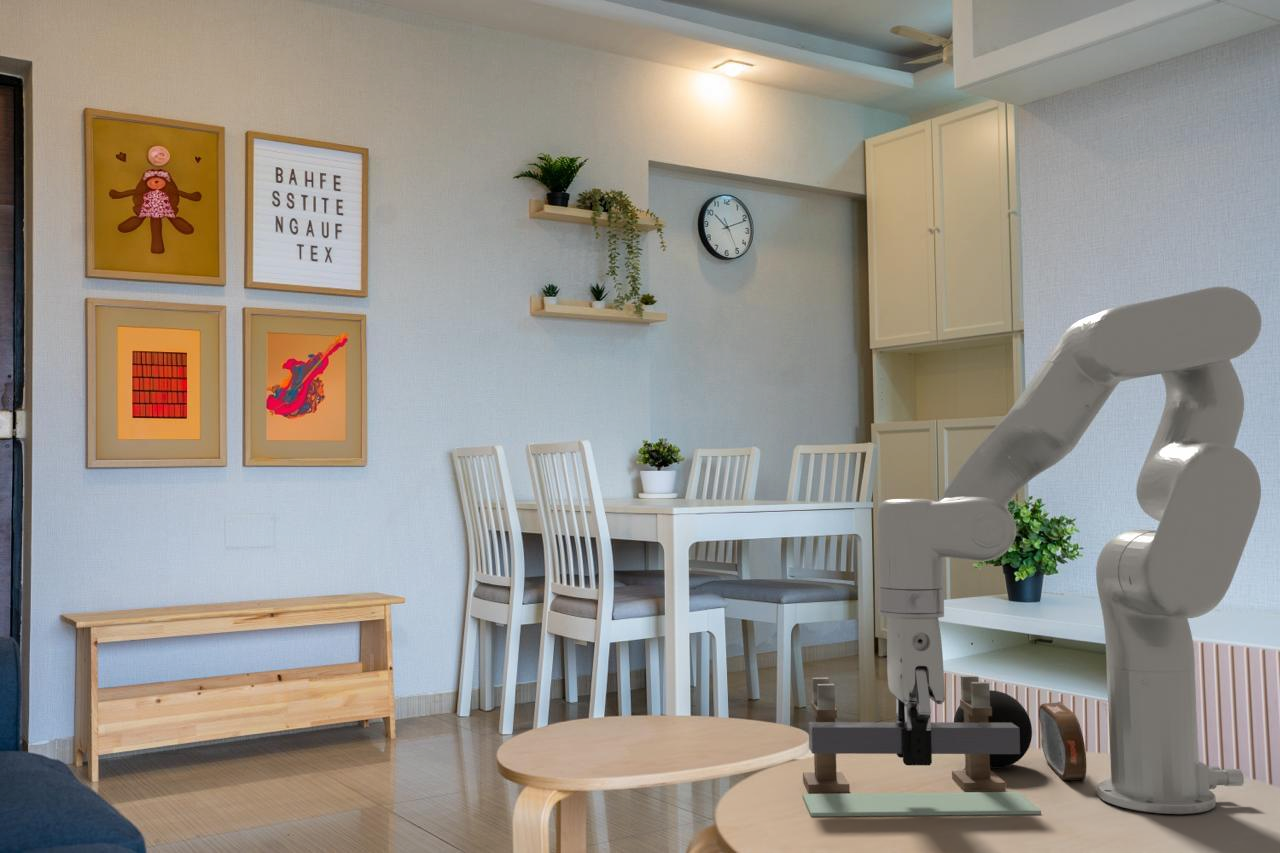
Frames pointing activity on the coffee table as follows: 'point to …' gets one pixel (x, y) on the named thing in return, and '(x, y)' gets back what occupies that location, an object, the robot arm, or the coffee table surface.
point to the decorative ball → (1006, 712)
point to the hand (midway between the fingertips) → (913, 759)
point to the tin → (1062, 741)
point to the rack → (972, 779)
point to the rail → (891, 738)
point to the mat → (919, 804)
